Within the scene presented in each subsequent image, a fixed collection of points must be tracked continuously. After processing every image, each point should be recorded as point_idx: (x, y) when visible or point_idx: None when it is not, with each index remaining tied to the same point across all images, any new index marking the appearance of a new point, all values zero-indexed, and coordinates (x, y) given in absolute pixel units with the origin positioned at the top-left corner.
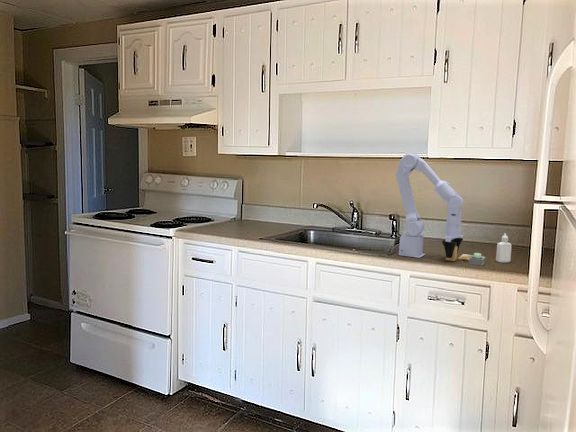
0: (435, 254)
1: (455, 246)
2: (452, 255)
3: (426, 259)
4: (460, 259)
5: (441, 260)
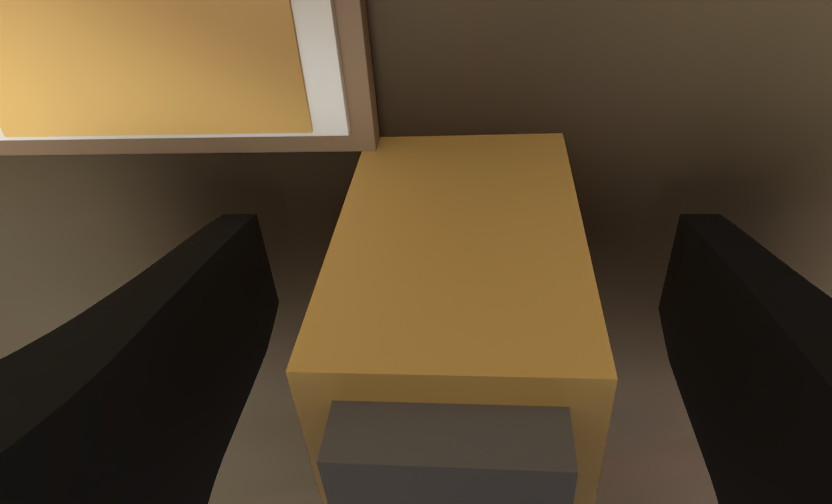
0: (264, 463)
1: (429, 408)
2: (720, 240)
3: (707, 484)
4: (368, 52)
5: (661, 328)
